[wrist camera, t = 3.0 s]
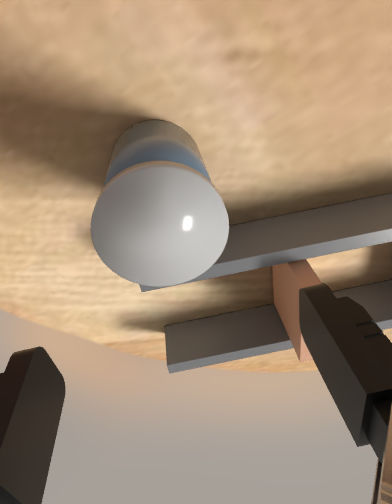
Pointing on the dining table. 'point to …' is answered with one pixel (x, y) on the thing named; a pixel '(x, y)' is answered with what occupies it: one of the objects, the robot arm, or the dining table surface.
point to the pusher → (292, 299)
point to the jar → (158, 208)
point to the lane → (273, 253)
